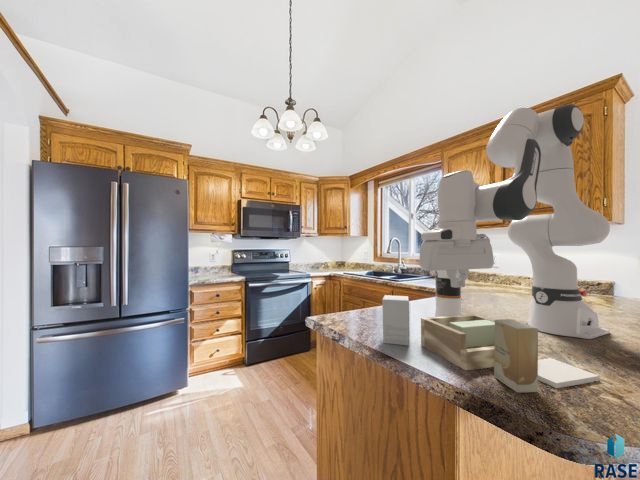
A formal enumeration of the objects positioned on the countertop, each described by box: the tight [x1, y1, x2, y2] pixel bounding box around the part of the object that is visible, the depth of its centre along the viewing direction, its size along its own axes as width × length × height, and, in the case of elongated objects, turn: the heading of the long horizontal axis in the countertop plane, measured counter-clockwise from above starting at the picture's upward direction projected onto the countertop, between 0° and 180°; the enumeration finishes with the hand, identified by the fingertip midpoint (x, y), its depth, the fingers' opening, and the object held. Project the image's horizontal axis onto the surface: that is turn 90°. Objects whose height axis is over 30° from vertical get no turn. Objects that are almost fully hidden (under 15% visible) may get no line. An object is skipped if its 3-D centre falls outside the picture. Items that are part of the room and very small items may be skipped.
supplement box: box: [381, 294, 411, 346], centre depth 78 cm, size 7×7×13 cm
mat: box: [538, 357, 601, 389], centre depth 57 cm, size 12×9×1 cm
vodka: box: [434, 270, 463, 317], centre depth 92 cm, size 9×9×30 cm
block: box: [449, 320, 495, 347], centre depth 69 cm, size 12×4×5 cm, turn 105°
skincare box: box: [493, 318, 539, 394], centre depth 53 cm, size 6×4×12 cm
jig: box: [420, 313, 496, 371], centre depth 69 cm, size 18×16×8 cm
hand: (457, 287), depth 68 cm, fingers closed
